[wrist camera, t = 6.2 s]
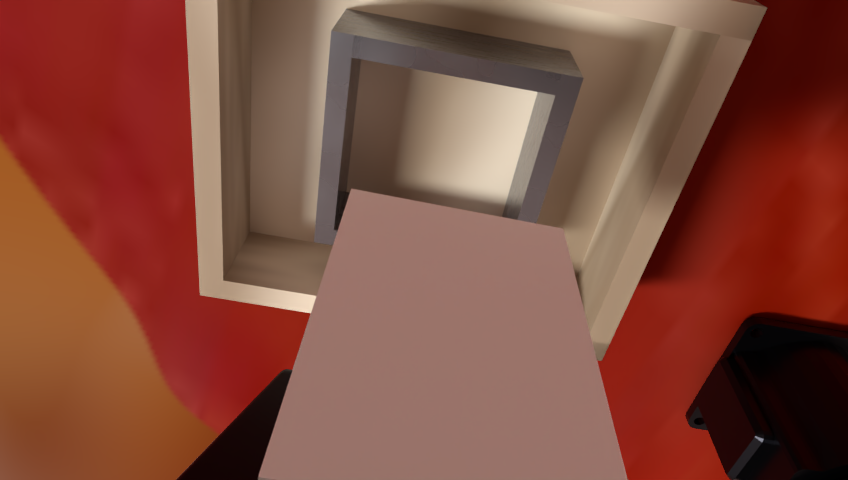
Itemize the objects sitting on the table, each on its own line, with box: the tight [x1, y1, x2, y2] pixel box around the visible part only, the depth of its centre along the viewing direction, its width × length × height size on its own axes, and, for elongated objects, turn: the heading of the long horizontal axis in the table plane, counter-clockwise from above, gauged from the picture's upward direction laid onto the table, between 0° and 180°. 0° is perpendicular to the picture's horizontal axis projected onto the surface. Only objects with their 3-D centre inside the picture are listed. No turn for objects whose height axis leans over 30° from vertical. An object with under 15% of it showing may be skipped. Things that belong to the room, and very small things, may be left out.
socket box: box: [185, 0, 767, 361], centre depth 19 cm, size 14×12×4 cm
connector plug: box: [258, 189, 627, 480], centre depth 9 cm, size 4×4×8 cm
